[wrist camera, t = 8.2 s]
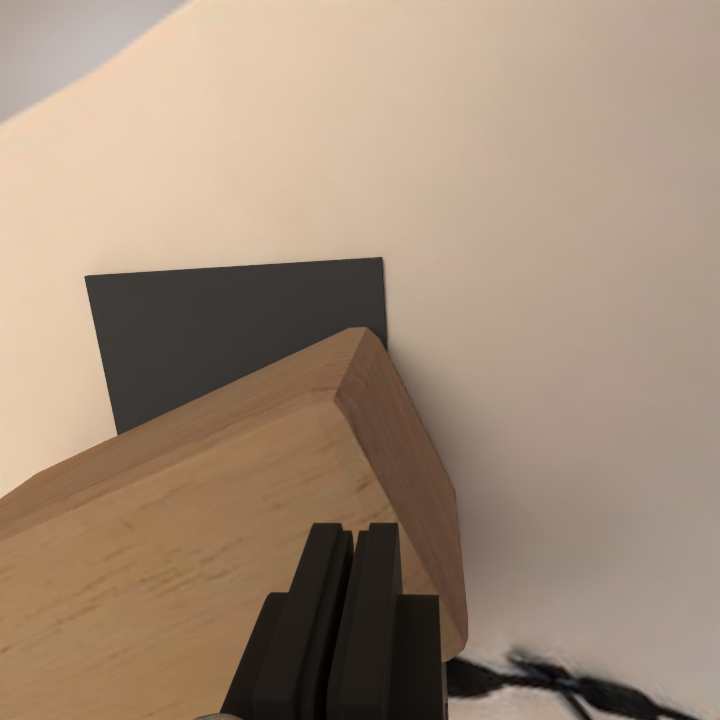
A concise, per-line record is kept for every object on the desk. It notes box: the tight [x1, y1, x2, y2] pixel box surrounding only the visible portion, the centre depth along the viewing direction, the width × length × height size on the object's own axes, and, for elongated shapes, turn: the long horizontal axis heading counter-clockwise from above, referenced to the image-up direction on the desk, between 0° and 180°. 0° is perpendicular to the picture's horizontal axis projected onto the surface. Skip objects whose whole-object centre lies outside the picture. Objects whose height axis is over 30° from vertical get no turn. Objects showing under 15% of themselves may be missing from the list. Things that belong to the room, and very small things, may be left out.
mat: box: [85, 257, 388, 435], centre depth 26 cm, size 12×14×1 cm
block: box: [0, 327, 468, 720], centre depth 23 cm, size 10×10×20 cm
